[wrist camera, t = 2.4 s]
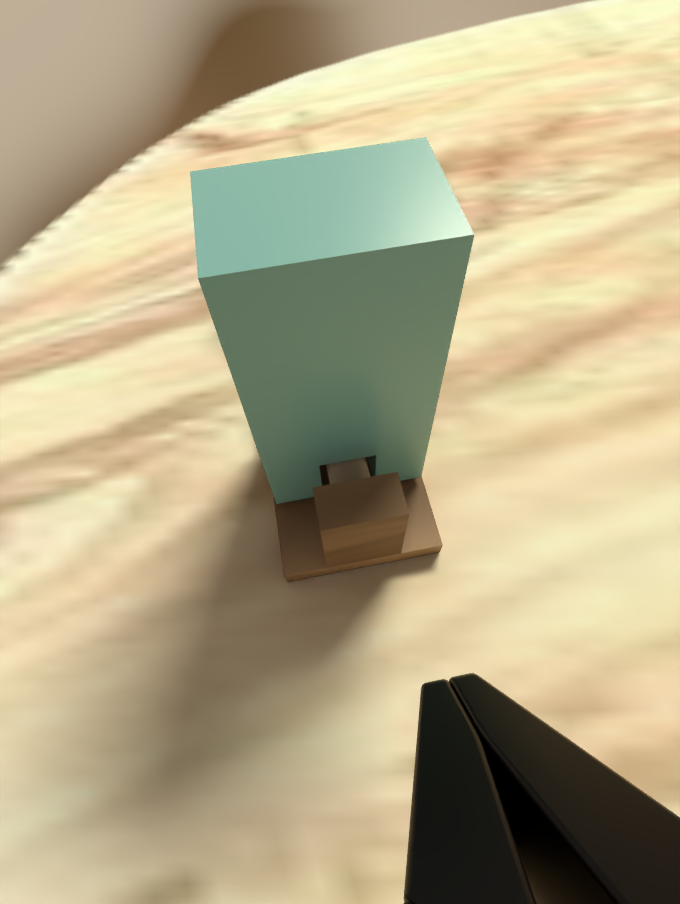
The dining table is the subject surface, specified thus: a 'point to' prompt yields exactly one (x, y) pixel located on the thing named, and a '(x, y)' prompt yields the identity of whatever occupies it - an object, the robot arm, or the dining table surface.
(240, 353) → the notched teal tower
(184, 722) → the dining table surface
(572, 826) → the robot arm
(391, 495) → the wooden stand
